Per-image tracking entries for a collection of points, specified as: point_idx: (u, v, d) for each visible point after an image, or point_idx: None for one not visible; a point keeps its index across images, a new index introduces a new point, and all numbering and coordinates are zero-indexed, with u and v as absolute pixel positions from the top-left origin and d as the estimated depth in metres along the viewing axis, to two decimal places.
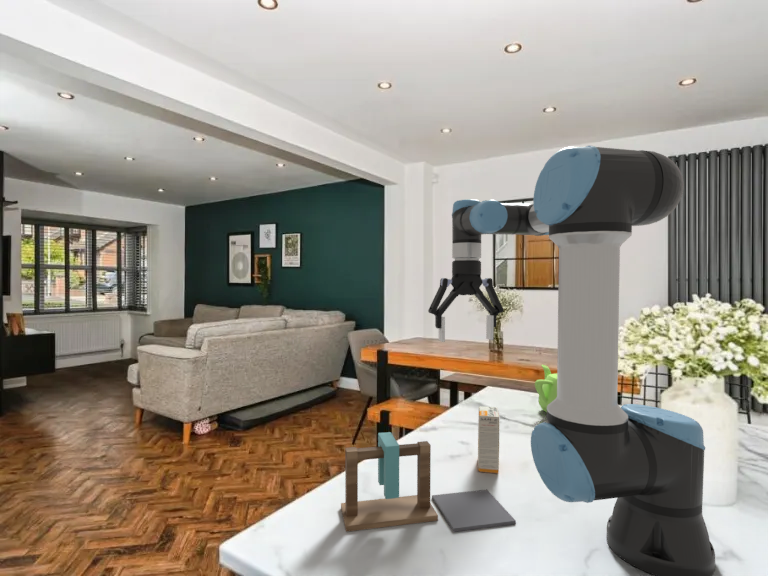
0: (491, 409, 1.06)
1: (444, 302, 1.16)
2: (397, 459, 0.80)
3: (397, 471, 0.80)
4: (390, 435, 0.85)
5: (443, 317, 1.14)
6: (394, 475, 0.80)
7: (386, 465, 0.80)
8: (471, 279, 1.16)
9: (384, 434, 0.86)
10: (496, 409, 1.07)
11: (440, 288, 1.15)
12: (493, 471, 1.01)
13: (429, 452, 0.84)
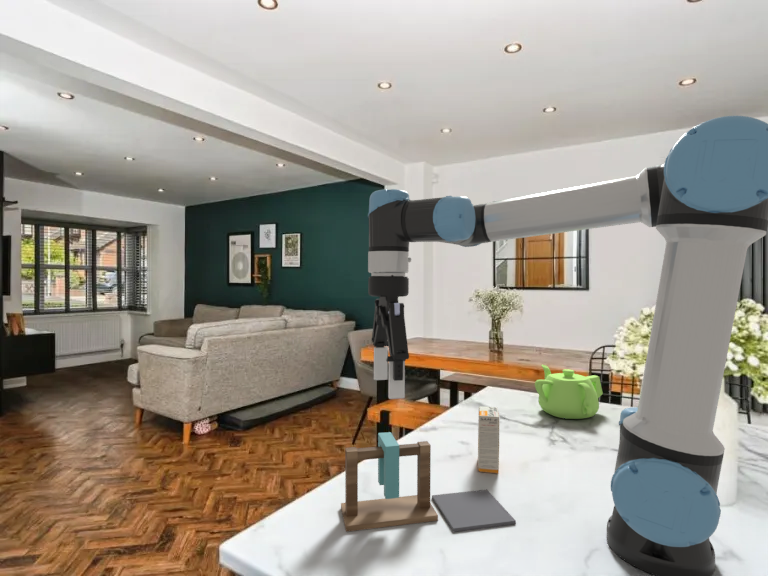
0: (491, 409, 1.06)
1: None
2: (397, 459, 0.80)
3: (397, 471, 0.80)
4: (390, 435, 0.85)
5: None
6: (394, 475, 0.80)
7: (386, 465, 0.80)
8: (383, 303, 0.82)
9: (384, 434, 0.86)
10: (496, 409, 1.07)
11: None
12: (493, 471, 1.01)
13: (429, 452, 0.84)
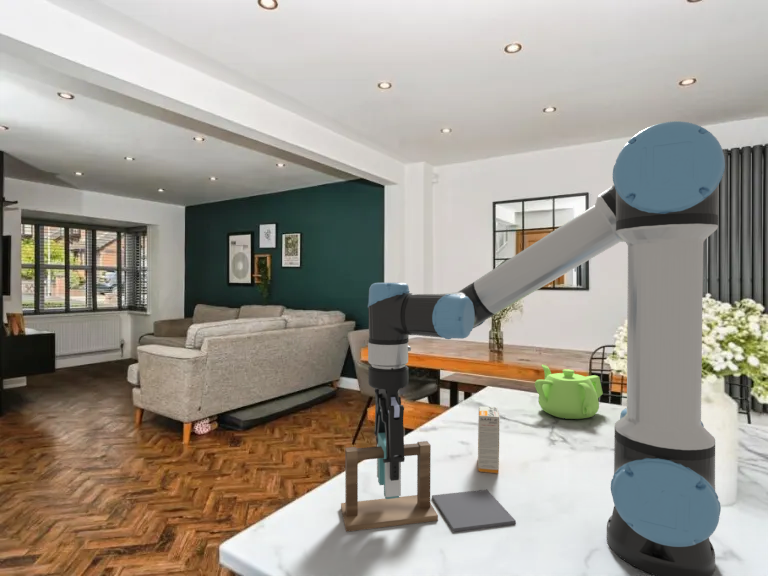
0: (491, 409, 1.06)
1: None
2: None
3: None
4: None
5: (377, 445, 0.87)
6: None
7: None
8: (384, 390, 0.82)
9: (384, 434, 0.86)
10: (496, 409, 1.07)
11: None
12: (493, 471, 1.01)
13: (429, 452, 0.84)
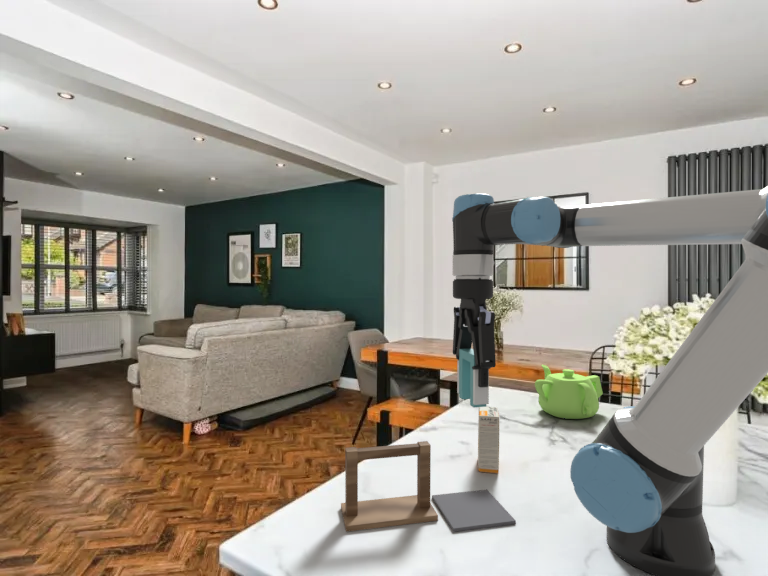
0: (491, 409, 1.06)
1: None
2: None
3: None
4: (472, 350, 0.86)
5: (458, 361, 0.88)
6: None
7: None
8: (470, 302, 0.83)
9: (466, 349, 0.87)
10: (496, 409, 1.07)
11: None
12: (493, 471, 1.01)
13: (429, 452, 0.84)
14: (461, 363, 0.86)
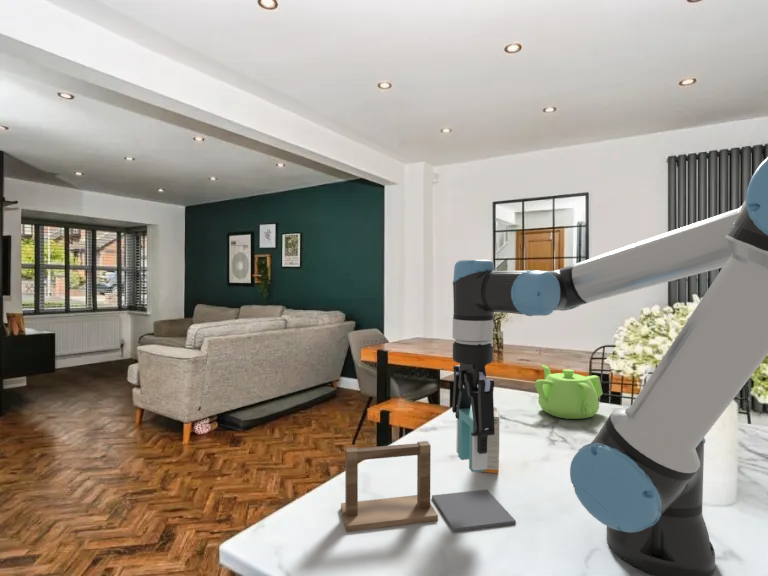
0: None
1: None
2: None
3: None
4: None
5: (457, 421, 0.88)
6: None
7: None
8: (469, 366, 0.83)
9: (466, 410, 0.87)
10: (496, 409, 1.07)
11: None
12: (493, 471, 1.01)
13: (429, 452, 0.84)
14: (460, 424, 0.87)
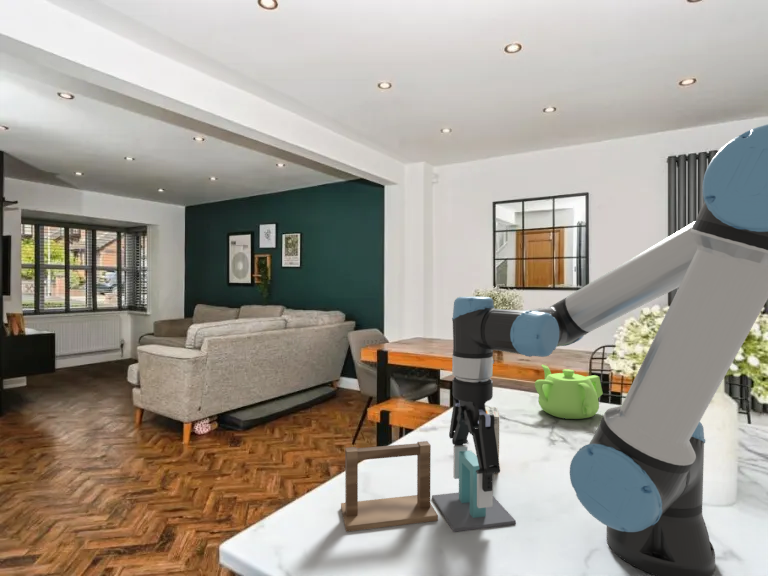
0: (491, 409, 1.06)
1: None
2: None
3: None
4: (472, 454, 0.87)
5: (454, 447, 0.90)
6: None
7: (473, 484, 0.81)
8: (469, 404, 0.83)
9: (466, 453, 0.87)
10: (496, 409, 1.07)
11: None
12: None
13: (429, 452, 0.84)
14: (461, 467, 0.87)
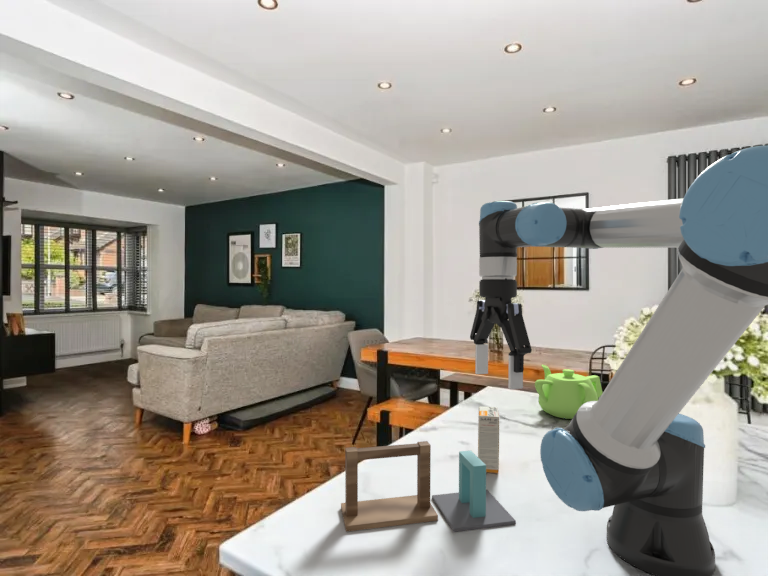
0: (491, 409, 1.06)
1: None
2: (484, 478, 0.82)
3: (484, 490, 0.82)
4: (472, 454, 0.87)
5: (476, 345, 0.98)
6: (481, 494, 0.82)
7: (473, 484, 0.81)
8: (495, 303, 0.90)
9: (466, 453, 0.87)
10: (496, 409, 1.07)
11: None
12: (493, 471, 1.01)
13: (429, 452, 0.84)
14: (461, 467, 0.87)
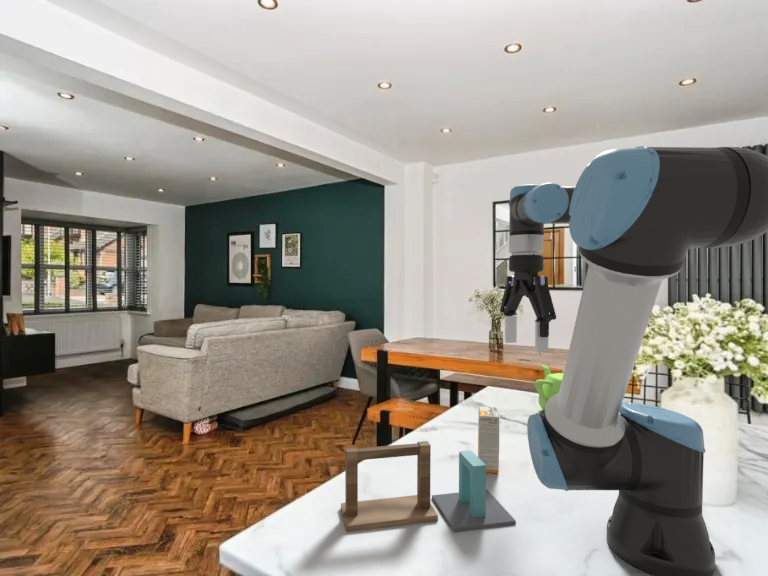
0: (491, 409, 1.06)
1: None
2: (484, 478, 0.82)
3: (484, 490, 0.82)
4: (472, 454, 0.87)
5: (506, 317, 1.08)
6: (481, 494, 0.82)
7: (473, 484, 0.81)
8: (523, 277, 1.00)
9: (466, 453, 0.87)
10: (496, 409, 1.07)
11: None
12: (493, 471, 1.01)
13: (429, 452, 0.84)
14: (461, 467, 0.87)
